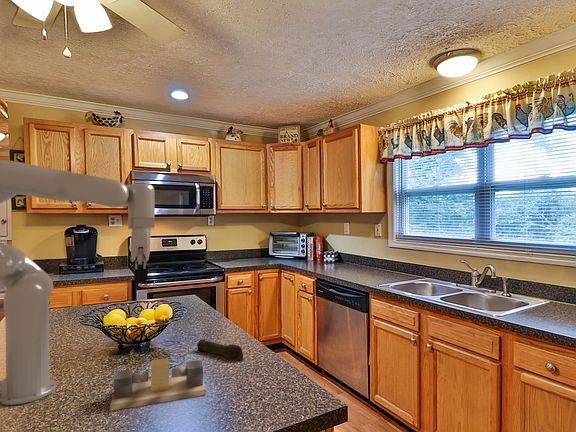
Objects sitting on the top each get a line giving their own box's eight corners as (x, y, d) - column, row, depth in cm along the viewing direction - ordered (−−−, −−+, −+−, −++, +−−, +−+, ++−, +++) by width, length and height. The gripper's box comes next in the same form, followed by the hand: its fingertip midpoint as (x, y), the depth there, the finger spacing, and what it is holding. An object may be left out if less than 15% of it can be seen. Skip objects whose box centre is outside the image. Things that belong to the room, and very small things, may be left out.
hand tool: (196, 352, 124) (196, 339, 124) (204, 348, 128) (204, 335, 128) (237, 364, 114) (237, 350, 114) (245, 360, 117) (245, 346, 117)
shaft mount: (110, 410, 86) (110, 384, 86) (115, 391, 96) (115, 367, 96) (205, 394, 94) (205, 370, 94) (201, 378, 104) (201, 356, 104)
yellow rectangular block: (151, 392, 92) (151, 365, 92) (151, 385, 96) (151, 360, 96) (168, 389, 94) (168, 363, 94) (168, 383, 98) (168, 357, 98)
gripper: (130, 223, 115) (130, 275, 115) (125, 224, 99) (125, 285, 99) (155, 223, 118) (155, 274, 118) (153, 224, 101) (153, 284, 101)
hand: (141, 279), depth 108 cm, fingers open, 9 cm apart
